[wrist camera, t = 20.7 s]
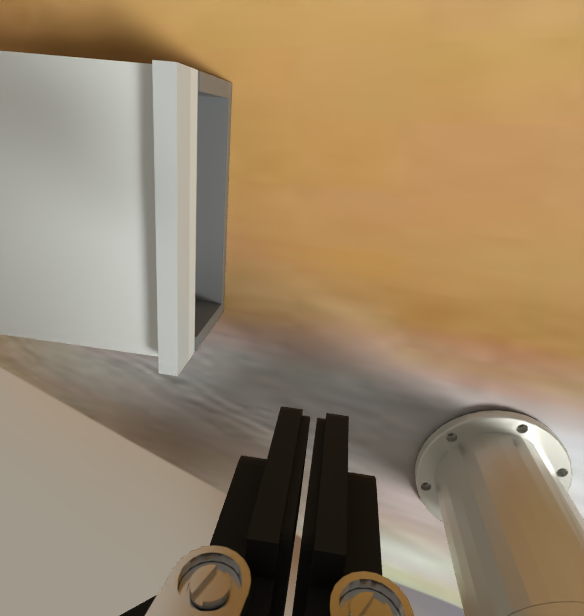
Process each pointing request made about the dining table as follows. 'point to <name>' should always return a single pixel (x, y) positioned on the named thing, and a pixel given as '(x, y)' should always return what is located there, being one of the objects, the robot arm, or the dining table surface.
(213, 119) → the housing
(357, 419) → the dining table surface
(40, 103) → the lid
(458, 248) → the dining table surface
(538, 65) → the dining table surface
